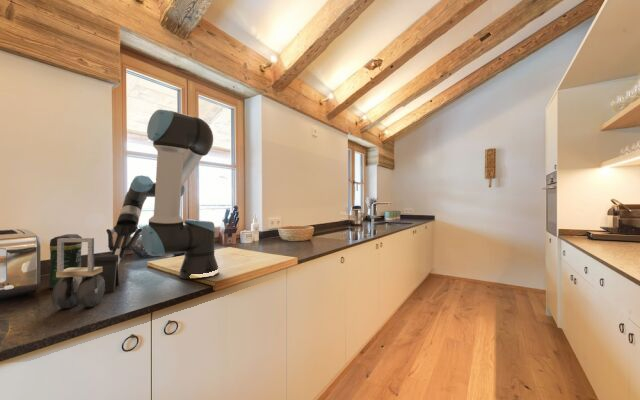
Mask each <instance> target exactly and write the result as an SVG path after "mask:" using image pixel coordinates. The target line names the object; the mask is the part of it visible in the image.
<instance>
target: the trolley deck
mask: <svg viewBox="0 0 640 400" xmlns="http://www.w3.org/2000/svg"><path fill="white" fill-rule="evenodd" d="M101 272H103V267H95V266H94V270H93V271H88V266H86V267H83V266H81V267H78V268H67V269H64V271H62V272H56V277H82V276H94V275H96V274H98V273H101Z"/></svg>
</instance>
